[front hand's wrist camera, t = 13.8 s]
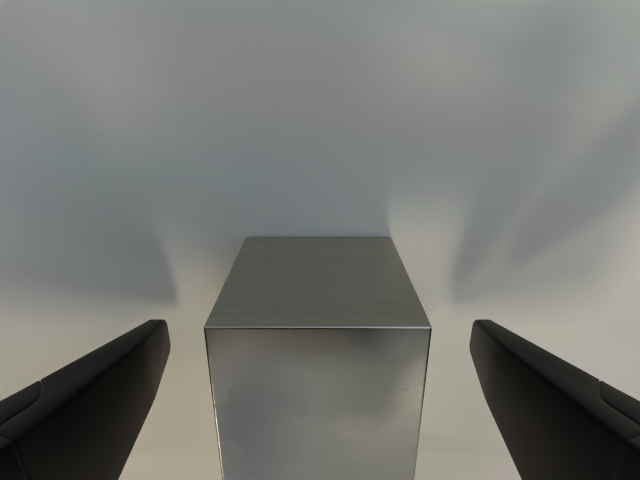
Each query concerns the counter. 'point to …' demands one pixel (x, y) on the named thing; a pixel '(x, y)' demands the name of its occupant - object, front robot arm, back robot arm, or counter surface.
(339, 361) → the block
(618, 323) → the counter surface
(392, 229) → the counter surface
